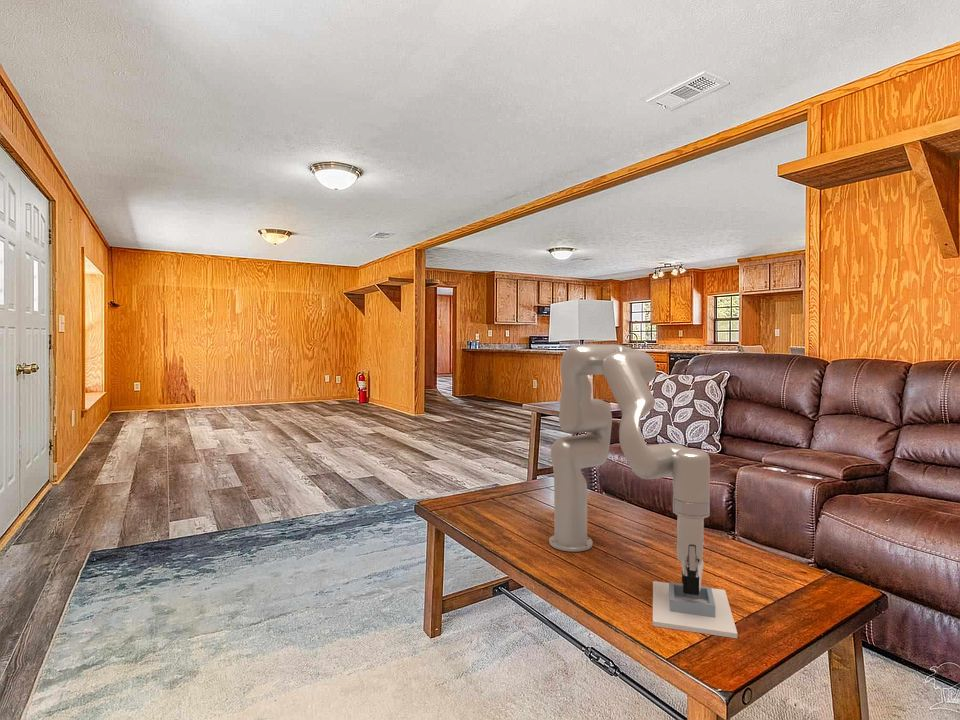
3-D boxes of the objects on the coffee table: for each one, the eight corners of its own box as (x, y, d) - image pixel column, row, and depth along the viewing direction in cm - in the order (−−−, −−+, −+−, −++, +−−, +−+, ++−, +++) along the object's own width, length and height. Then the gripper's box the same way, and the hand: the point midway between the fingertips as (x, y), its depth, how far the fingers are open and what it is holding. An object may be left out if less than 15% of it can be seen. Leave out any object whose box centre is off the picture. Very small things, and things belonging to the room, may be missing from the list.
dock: (652, 585, 130) (653, 570, 130) (724, 594, 126) (725, 579, 125) (652, 626, 111) (652, 609, 111) (737, 638, 107) (737, 621, 106)
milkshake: (681, 589, 122) (681, 545, 122) (705, 596, 119) (706, 551, 119) (674, 596, 119) (674, 551, 118) (699, 603, 115) (699, 557, 115)
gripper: (671, 494, 127) (671, 571, 128) (674, 516, 111) (673, 604, 112) (706, 497, 125) (705, 575, 125) (713, 520, 109) (712, 609, 109)
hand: (690, 588), depth 119 cm, fingers closed on milkshake, 4 cm apart
